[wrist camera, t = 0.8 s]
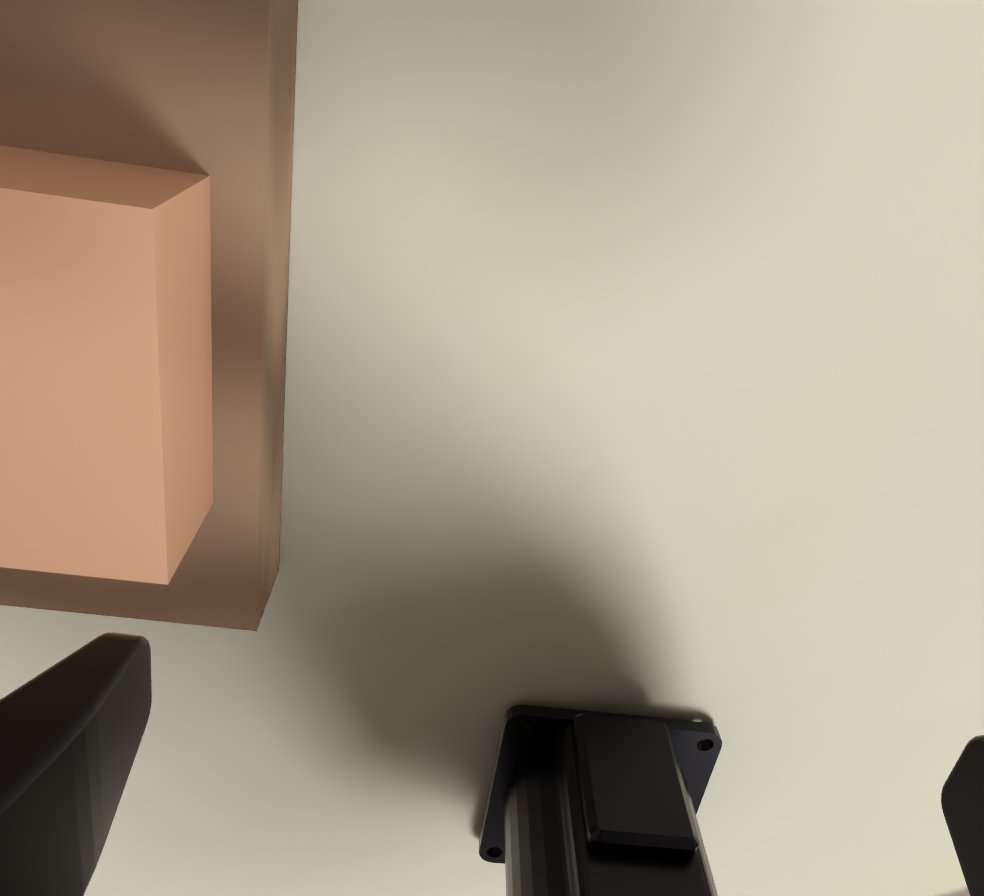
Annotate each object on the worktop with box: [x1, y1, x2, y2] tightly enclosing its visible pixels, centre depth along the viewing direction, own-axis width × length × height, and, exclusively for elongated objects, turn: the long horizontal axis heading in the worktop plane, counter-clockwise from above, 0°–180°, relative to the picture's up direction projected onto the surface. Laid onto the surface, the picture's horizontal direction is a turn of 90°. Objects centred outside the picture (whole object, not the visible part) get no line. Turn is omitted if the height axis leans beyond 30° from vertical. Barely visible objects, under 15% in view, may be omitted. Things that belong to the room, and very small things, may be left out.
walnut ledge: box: [0, 0, 298, 631], centre depth 17 cm, size 14×10×2 cm
